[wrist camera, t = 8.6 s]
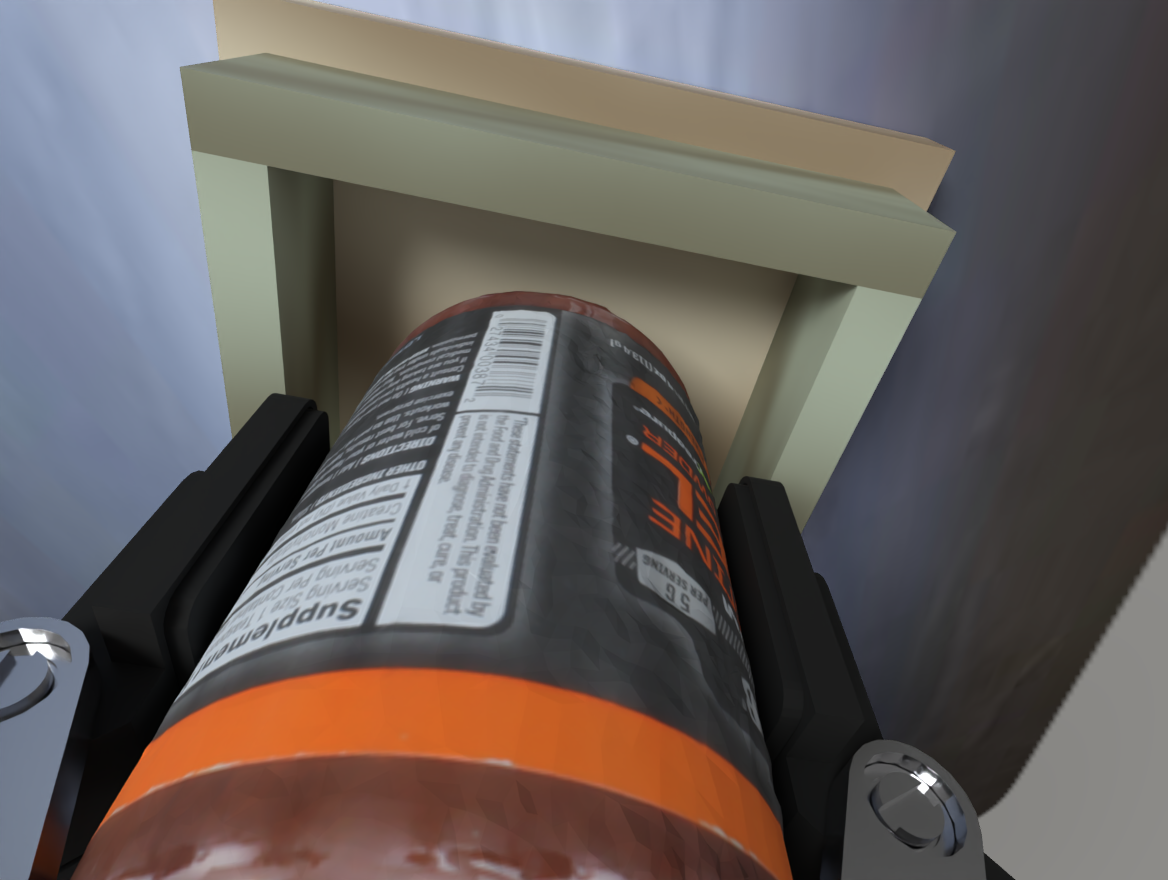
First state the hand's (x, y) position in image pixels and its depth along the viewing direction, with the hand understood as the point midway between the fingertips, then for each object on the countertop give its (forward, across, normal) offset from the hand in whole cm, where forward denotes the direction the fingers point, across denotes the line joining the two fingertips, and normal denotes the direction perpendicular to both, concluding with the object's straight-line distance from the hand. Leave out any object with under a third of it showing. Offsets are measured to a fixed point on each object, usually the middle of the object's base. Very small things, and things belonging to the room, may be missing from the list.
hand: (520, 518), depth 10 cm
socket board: (+5, 0, 0) cm, 5 cm away
